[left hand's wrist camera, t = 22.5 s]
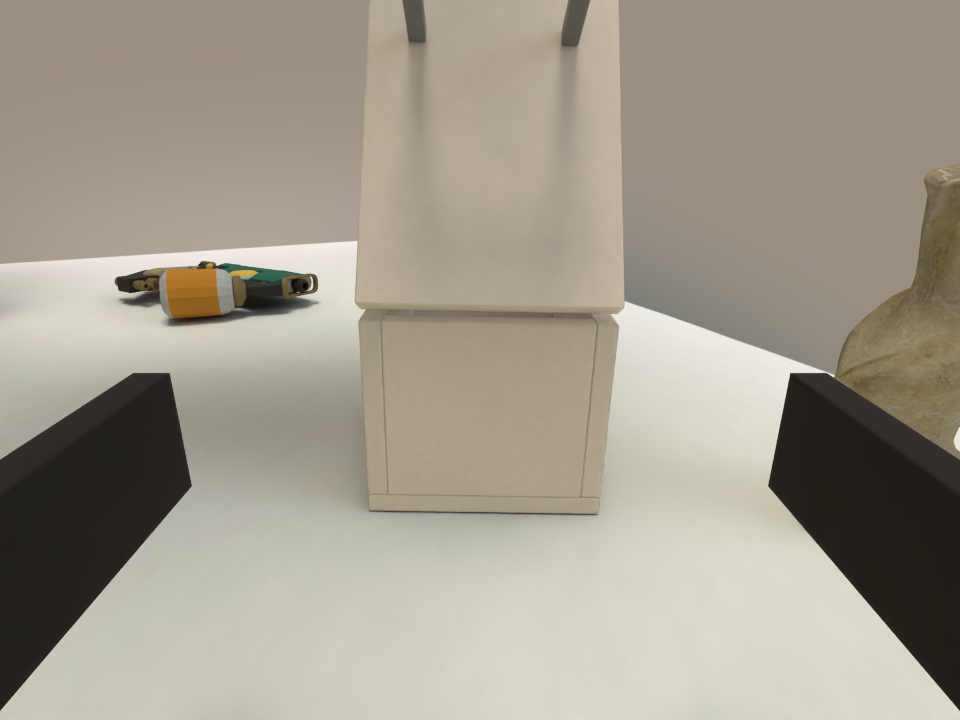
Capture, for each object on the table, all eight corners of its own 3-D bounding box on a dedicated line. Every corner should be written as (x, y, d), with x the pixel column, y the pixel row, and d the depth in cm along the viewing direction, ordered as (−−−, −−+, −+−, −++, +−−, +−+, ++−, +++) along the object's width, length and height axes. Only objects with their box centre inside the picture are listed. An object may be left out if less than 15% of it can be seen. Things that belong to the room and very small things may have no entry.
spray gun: (113, 300, 58) (261, 284, 68) (156, 332, 46) (328, 307, 56) (105, 257, 57) (257, 247, 66) (147, 278, 45) (325, 262, 54)
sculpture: (1018, 575, 23) (1199, 171, 17) (819, 550, 24) (929, 163, 18) (937, 491, 28) (1055, 163, 23) (777, 474, 29) (853, 157, 24)
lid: (375, -17, 25) (322, -267, 16) (612, -11, 25) (687, -256, 16) (359, 309, 23) (290, 225, 14) (617, 314, 23) (708, 234, 14)
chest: (404, 387, 39) (400, 254, 35) (558, 390, 39) (568, 257, 35) (368, 511, 26) (357, 320, 23) (598, 514, 26) (619, 325, 23)
